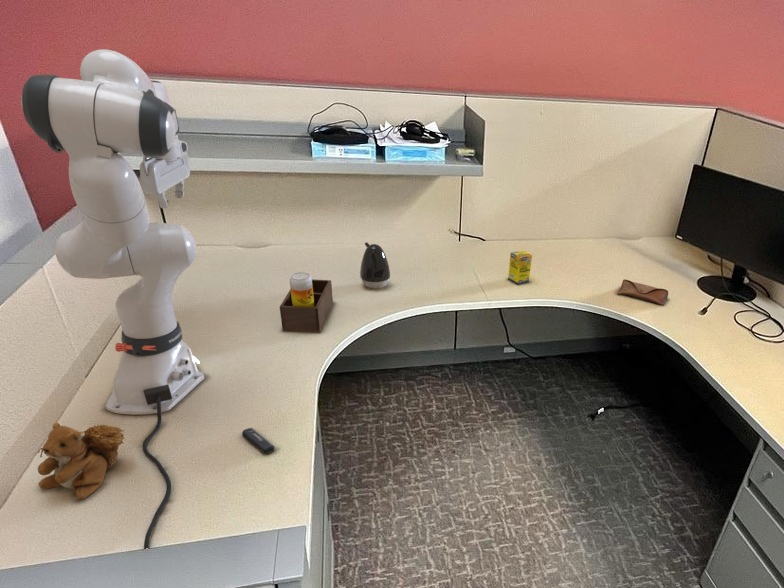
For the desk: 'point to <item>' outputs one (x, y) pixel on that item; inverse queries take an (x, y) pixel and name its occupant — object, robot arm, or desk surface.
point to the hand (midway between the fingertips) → (172, 202)
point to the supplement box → (519, 267)
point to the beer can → (301, 290)
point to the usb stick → (258, 440)
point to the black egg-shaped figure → (374, 267)
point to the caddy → (308, 310)
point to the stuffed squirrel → (79, 457)
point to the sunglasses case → (643, 292)
